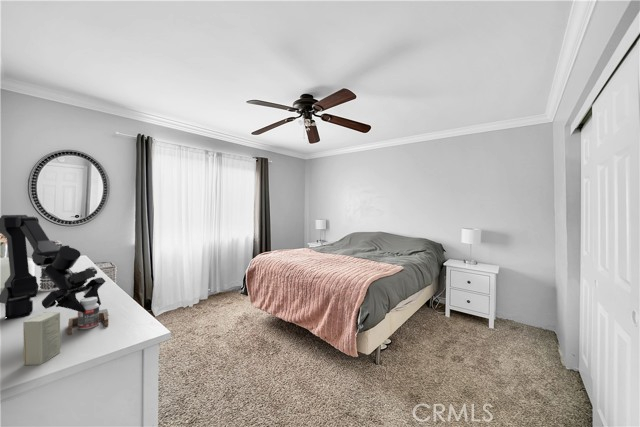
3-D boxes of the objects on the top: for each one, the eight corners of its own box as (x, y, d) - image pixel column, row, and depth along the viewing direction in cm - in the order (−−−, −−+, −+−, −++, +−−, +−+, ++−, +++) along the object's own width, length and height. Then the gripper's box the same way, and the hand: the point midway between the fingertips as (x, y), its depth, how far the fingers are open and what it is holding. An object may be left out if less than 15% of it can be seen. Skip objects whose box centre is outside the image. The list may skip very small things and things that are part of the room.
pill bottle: (86, 330, 89) (86, 302, 89) (73, 329, 91) (73, 301, 90) (103, 323, 95) (103, 296, 95) (90, 322, 96) (90, 295, 96)
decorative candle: (51, 291, 129) (51, 242, 128) (33, 291, 129) (33, 241, 129) (69, 286, 138) (69, 239, 138) (52, 285, 138) (52, 239, 138)
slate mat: (81, 321, 96) (81, 320, 96) (81, 314, 102) (81, 313, 102) (108, 315, 102) (108, 314, 102) (107, 309, 108) (107, 308, 108)
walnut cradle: (67, 335, 86) (67, 327, 86) (68, 325, 93) (68, 318, 93) (108, 325, 93) (108, 319, 93) (106, 317, 100) (106, 311, 100)
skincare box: (45, 352, 76) (44, 312, 75) (61, 352, 76) (61, 311, 76) (22, 365, 69) (21, 321, 69) (40, 365, 70) (39, 321, 70)
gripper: (49, 267, 83) (83, 302, 83) (100, 256, 102) (128, 285, 102) (26, 291, 84) (59, 325, 83) (81, 276, 102) (108, 304, 102)
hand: (92, 308), depth 93 cm, fingers closed on pill bottle, 6 cm apart
